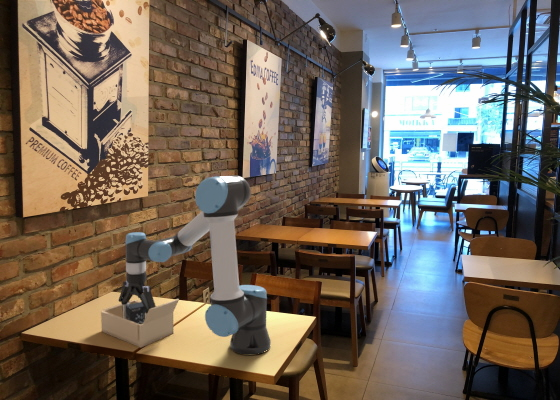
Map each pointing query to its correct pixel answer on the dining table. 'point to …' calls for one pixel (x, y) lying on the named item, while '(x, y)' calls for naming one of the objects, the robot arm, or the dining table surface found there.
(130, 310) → the box
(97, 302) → the dining table surface
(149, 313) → the flap
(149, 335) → the carton
